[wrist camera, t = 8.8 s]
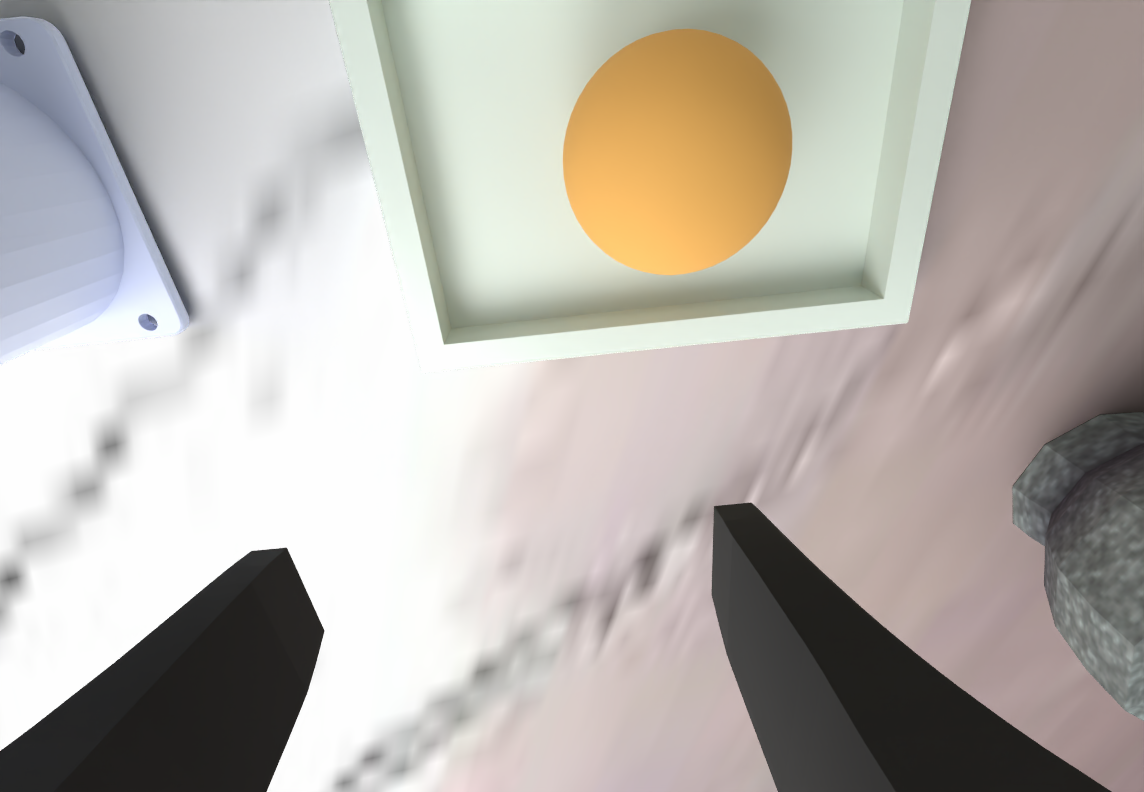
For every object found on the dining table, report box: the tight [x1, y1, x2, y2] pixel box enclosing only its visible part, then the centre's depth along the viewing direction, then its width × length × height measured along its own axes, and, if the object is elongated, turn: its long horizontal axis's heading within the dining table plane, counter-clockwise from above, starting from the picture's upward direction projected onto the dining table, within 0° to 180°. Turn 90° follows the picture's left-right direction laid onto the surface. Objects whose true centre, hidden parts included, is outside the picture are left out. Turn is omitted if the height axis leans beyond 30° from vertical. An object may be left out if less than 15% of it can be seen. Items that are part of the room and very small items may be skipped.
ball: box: [563, 29, 792, 275], centre depth 12 cm, size 5×5×5 cm
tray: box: [329, 0, 971, 373], centre depth 14 cm, size 14×10×2 cm
